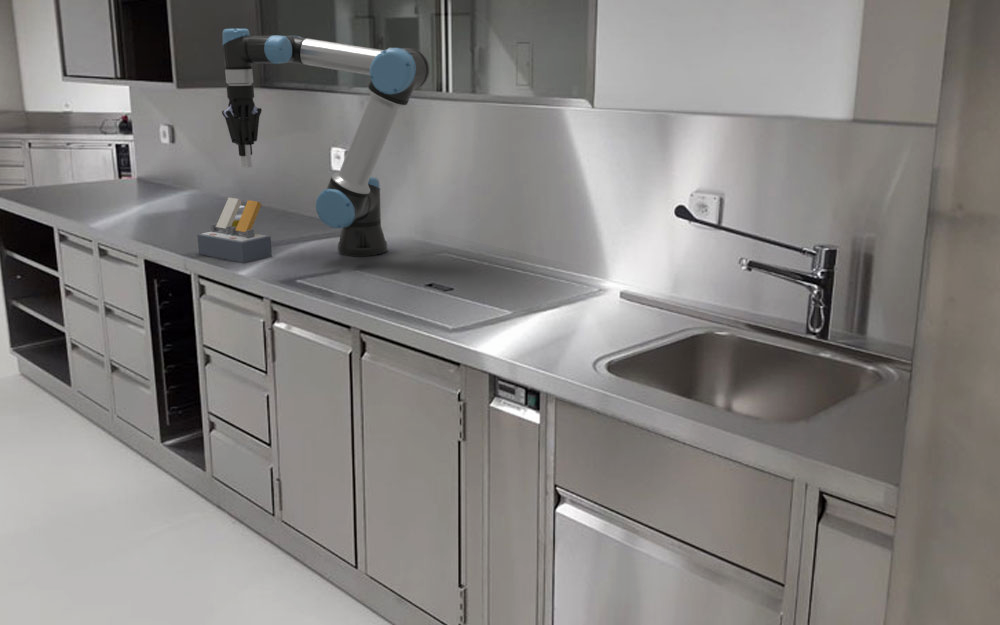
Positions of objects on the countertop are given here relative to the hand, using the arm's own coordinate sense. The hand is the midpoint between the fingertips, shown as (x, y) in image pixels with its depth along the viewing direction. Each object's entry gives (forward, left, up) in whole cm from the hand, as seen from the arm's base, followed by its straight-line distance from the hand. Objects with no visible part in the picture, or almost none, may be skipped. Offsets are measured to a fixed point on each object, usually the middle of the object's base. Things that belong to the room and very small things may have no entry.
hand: (246, 166), depth 273 cm
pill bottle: (+17, -9, -27) cm, 33 cm away
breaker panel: (+4, +3, -27) cm, 27 cm away
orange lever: (0, +3, -19) cm, 19 cm away
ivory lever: (+9, +3, -19) cm, 21 cm away
